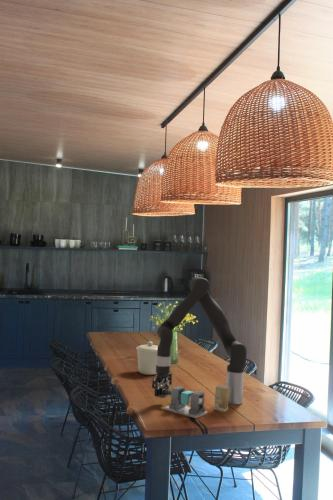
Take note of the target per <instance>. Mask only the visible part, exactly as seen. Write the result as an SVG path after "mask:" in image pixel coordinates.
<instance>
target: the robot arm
mask: <svg viewBox="0 0 333 500" xmlns="http://www.w3.org/2000/svg"><path fill="white" fill-rule="evenodd" d="M210 284H211V283H210V282H209V280H208V279H206V278H204V277H201V276H195V277H193V278H191V280H190V282H189V289H190V292H189V294H188V295H187V296H186V297H185V298H184V299H183V300H182V301H181V302H180V303H179V304H178V305H177V306H176V307H175V308H174V309H173V310H172V312H171V313H170V315H169V316H168V317H167V319H165V320H164V321H163V322H162V323H161V325H160V326H159V327H158V329H157V332H156V334H157V336H158V338H159V344H158V345H157V346H158V349H157V359H156V373H157V374H156V376H153V377H152V385H151V389H154V397H156V398H159V397H158V396H159V388H160V386H161V385H164V386H168V390H170V389H169V388H170V385H172V379H173V373H171V351H172V350H171V348H172V344H173V340H174V339H173V338H174V332H173V331H174V329H175V328H177V327H179V326H180V324H181V323H182V322H183V321H184V319H185V318H186V316H187V315H188V314H189V312H191V310H192V308H193V307H195V305H196V304H198V302H199V305H201V308H202V310H203V312H204V314H205V315H206V318H207V319H208V321H209V323H210V325H211V326H212V328H213V329H214V331H215V333H216V334H217V335H218V337H219V339H220V341H221V343H222V346H223V348H224V350H225V352H226V354H227V356H229V357H230V359H229V364H228V365H227V366H226V382H225V386H226V387H230V390H229V402H228V405H241V404H242V403H243V394H244V393H243V392H244V375H245V374H244V372H245V368H246V363H247V362H246V361H247V347H246V346H245V344H243V343H241V342H239V341H238V339H236V338H235V335H234V334H233V333H232V330H231V326H230V324H229V323H230V322H229V320H228V317H227V315H226V313H225V312H224V310H223V309H222V308H221V306H220V305H219V304H218V303H217V302H216V300H215V299H214V298H213V297H212V296H211V294H210V292H209V290H210V288H211V287H210V286H211V285H210ZM157 386H158V387H157Z"/></svg>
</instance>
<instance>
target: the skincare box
mask: <svg viewBox="0 0 333 500" xmlns="http://www.w3.org/2000/svg"><path fill="white" fill-rule="evenodd" d="M229 390H230V387H226V385H222V384H219V385H216V386H215V395H214V408H213V409H214V410H216V411H219V412H224V413H225V412H227V411H228V410H229V403H228V402H229Z"/></svg>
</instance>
